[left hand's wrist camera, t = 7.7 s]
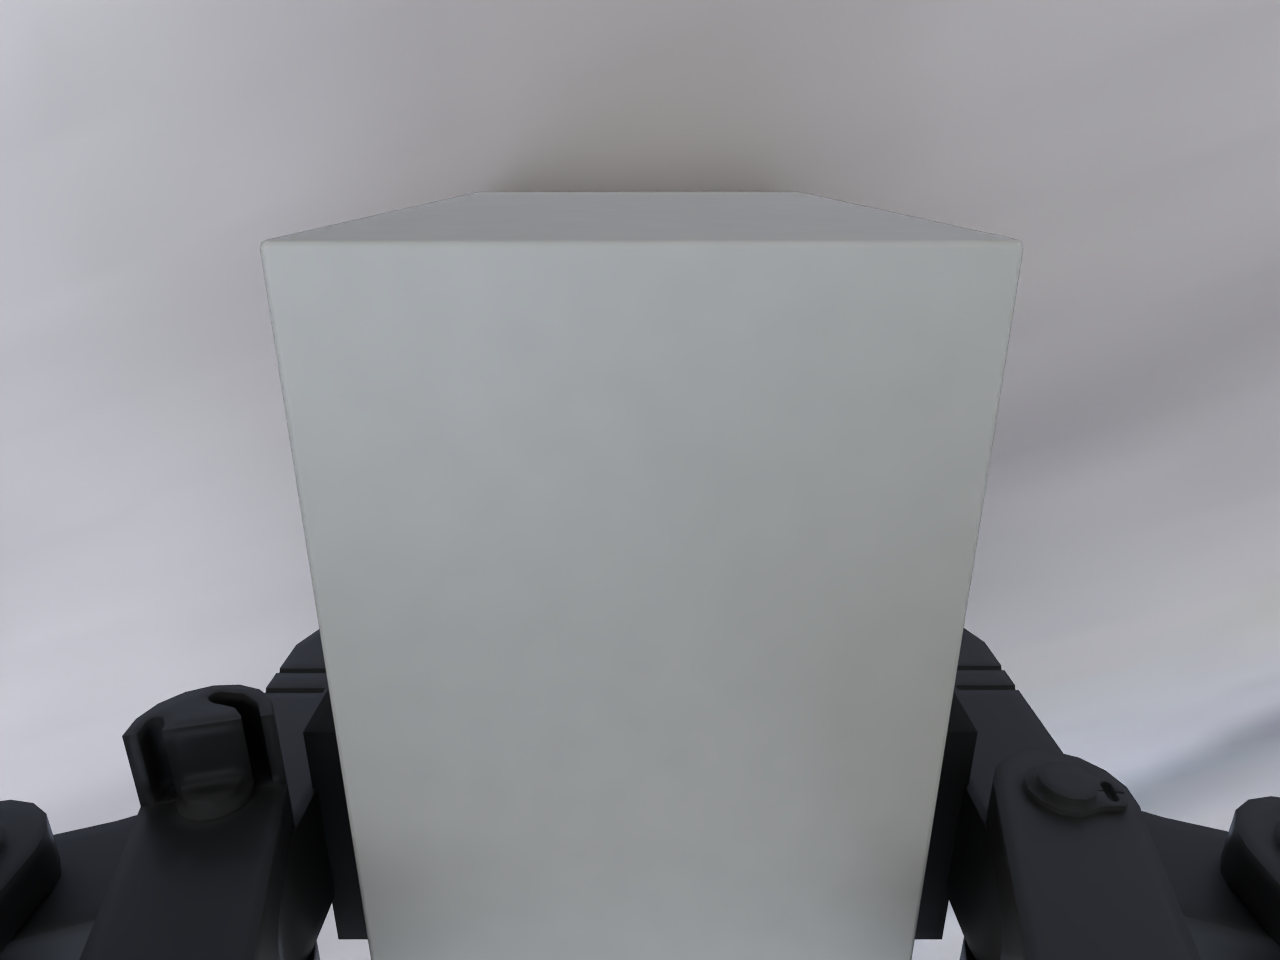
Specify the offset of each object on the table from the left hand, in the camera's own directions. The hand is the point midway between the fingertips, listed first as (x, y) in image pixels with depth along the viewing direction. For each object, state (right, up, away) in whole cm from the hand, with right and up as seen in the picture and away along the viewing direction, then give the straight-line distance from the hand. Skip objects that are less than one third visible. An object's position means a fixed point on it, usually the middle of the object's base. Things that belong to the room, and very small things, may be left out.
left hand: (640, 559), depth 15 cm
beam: (0, -20, +8) cm, 21 cm away
